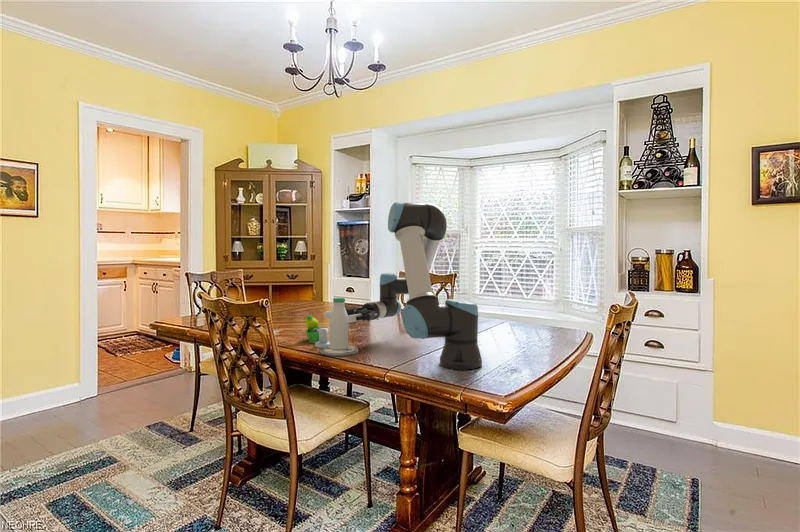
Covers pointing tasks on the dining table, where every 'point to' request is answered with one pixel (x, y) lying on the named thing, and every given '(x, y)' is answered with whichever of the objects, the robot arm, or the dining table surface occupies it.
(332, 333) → the milk bottle
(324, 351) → the grey plate
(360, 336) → the dining table surface
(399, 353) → the dining table surface
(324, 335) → the small pipe fitting
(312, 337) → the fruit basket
